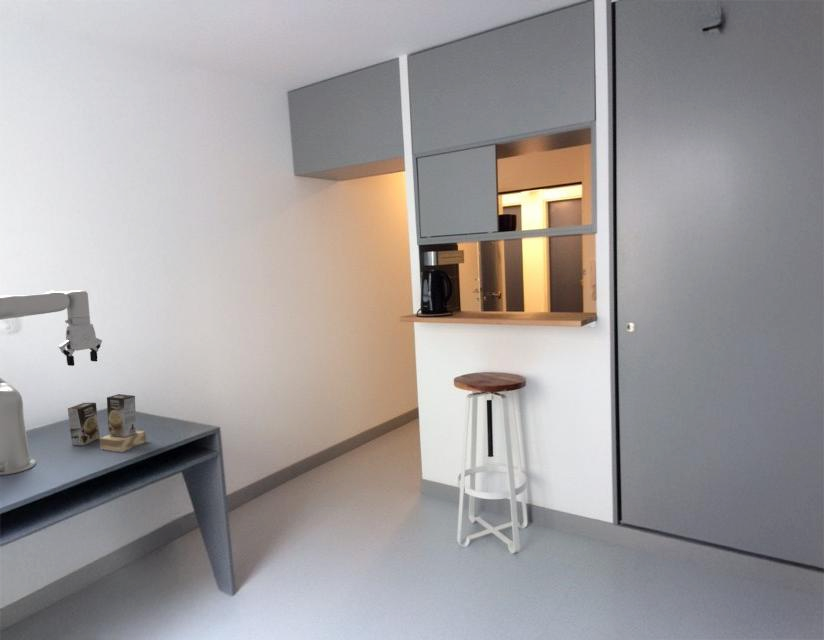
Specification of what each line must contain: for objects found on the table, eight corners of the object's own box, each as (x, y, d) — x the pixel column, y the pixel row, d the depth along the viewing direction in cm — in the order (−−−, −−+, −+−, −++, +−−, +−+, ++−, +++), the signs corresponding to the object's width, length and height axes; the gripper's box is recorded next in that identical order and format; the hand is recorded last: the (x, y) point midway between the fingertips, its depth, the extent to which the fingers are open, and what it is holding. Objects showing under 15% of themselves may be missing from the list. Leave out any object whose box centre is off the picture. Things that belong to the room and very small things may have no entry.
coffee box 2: (107, 435, 219) (105, 397, 218) (120, 431, 225) (118, 393, 224) (125, 437, 216) (123, 398, 215) (137, 432, 223) (135, 395, 221)
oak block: (121, 453, 214) (120, 441, 213) (100, 450, 218) (99, 438, 218) (146, 442, 225) (145, 431, 224) (126, 439, 229) (124, 428, 229)
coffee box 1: (84, 445, 223) (79, 408, 221) (71, 445, 224) (66, 408, 222) (101, 437, 232) (96, 402, 230) (88, 437, 233) (83, 401, 231)
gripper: (63, 324, 204) (67, 368, 206) (105, 319, 219) (108, 360, 221) (51, 323, 207) (55, 366, 209) (93, 318, 222) (96, 359, 224)
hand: (82, 363), depth 215 cm, fingers open, 9 cm apart
